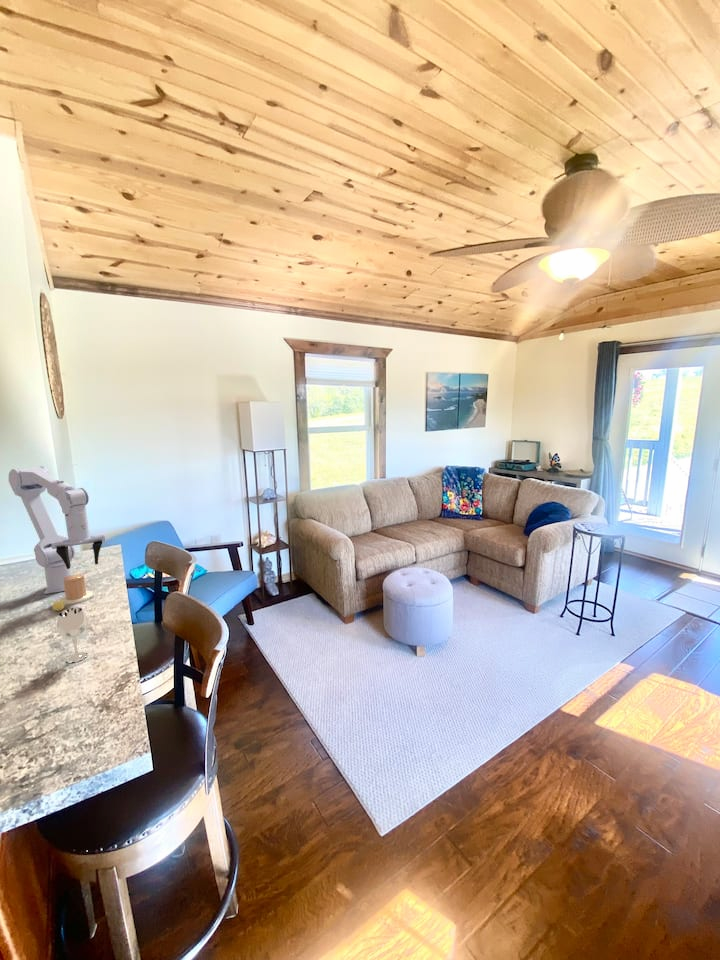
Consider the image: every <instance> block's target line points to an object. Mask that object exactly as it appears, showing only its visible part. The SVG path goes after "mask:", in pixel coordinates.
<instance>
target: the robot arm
mask: <svg viewBox="0 0 720 960" xmlns="http://www.w3.org/2000/svg"><path fill="white" fill-rule="evenodd" d="M8 483H9V486H10V487H11V490H12V492H13V493H14V495H15V496H17V497H20V498H21V501H22V503H23V505H24V508H25V509H26V512H27V514H28V516H29V518H30V520H31V524H33V527H34V529H35V532H36V534H37V536H38V538H39V541H38V542H37V544H36V545H35V546H34V547H33V552H34V557H35V561H36V563H37V564H38V566H40V567H42V568H43V570H44V575H45V582H46V589H45V591H44V592H43V594H44V595H47V594H55V593H59V592H65V589H64V580H63V579H64V578H66V577H68V576H71V575H73V569H72V564H71V562H73V559H74V558H75V555H76V549H75V546H80V545H88V544H92V550H93V555H94V556H93V557H94V564H95V565H98V564H99V556H100V551H101V548H102V545H103V543H104V542H105V543H106V542H107V538H106V534H101V535H100V534H99V535H90V531H89V530H90V529H89V524H88V515H87V507H86V506H87V505H88V504H89V499H90V498H89V497H90V496H89V494H88V491H87V490H86V489H85V488H84V487H78V488H75V487H74V486H72V485H70V484H69V483H67V482H65V480H64V479H56V478H54V477H53V476H51V474H50V471H49V469H48V468H46V467H45V466H43V465H41V466H40V465H39V466H34V467H25V468H11V470H10V471H9V473H8ZM45 491H47V494H48V495H50V496H51V497H53V498H54V499H56V500H57V501H58V503H59V505H60V508H61V512H62V514H63V515H64V517H65V525H66V531H67V532H66V533H67V537H66V536H63V535H60V534H58V532H57V531H56V528H55V525H54V523H53V522H52V519H51V517H50V515H49V513H48V511H47V508H46V507H45V504H44V502H43V500H42V498H41V494H42V493H44V492H45Z"/></svg>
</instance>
